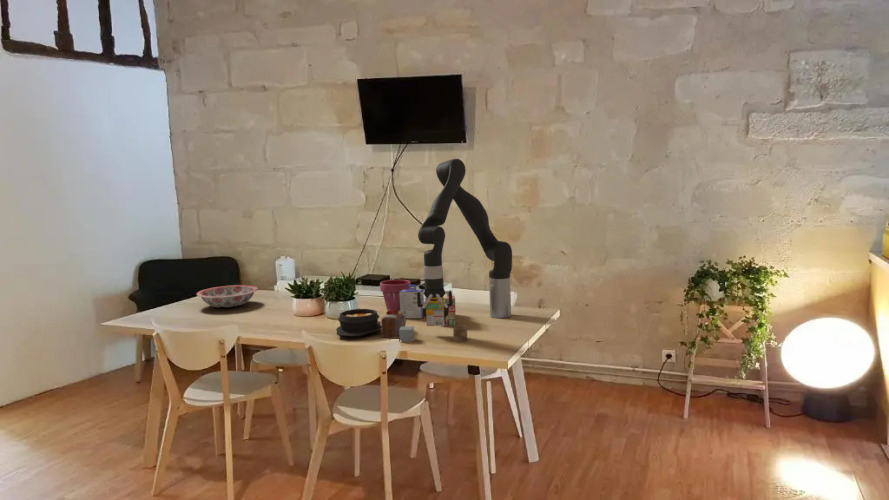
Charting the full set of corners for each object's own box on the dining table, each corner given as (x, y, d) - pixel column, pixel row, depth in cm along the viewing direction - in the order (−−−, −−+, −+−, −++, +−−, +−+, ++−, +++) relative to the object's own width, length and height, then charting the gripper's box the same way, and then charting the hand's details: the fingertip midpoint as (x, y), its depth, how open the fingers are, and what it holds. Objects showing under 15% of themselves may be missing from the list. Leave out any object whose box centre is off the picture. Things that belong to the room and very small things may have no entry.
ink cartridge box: (424, 316, 308) (423, 284, 306) (422, 318, 303) (420, 286, 301) (403, 315, 310) (402, 284, 308) (400, 318, 305) (398, 286, 303)
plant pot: (414, 305, 331) (413, 279, 329) (407, 312, 317) (406, 284, 315) (385, 305, 333) (384, 279, 331) (377, 311, 319) (376, 284, 318)
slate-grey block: (414, 338, 271) (413, 326, 270) (412, 342, 266) (412, 329, 265) (401, 338, 271) (400, 326, 271) (399, 342, 266) (399, 329, 266)
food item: (388, 329, 287) (387, 306, 286) (407, 329, 286) (406, 306, 285) (380, 337, 274) (378, 313, 273) (399, 338, 273) (398, 313, 271)
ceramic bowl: (234, 298, 363) (233, 283, 362) (271, 303, 346) (270, 288, 345) (185, 309, 340) (184, 293, 339) (222, 315, 323) (221, 299, 322)
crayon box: (446, 324, 275) (444, 296, 273) (444, 326, 272) (443, 297, 270) (428, 324, 276) (426, 296, 275) (426, 326, 273) (425, 297, 272)
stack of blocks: (438, 315, 309) (437, 288, 308) (452, 314, 310) (451, 287, 308) (441, 326, 288) (440, 298, 286) (456, 326, 288) (455, 297, 287)
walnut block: (467, 338, 269) (466, 325, 268) (466, 341, 264) (466, 328, 264) (454, 338, 270) (454, 325, 269) (453, 341, 265) (453, 329, 264)
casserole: (369, 341, 269) (368, 320, 268) (325, 339, 274) (324, 319, 273) (390, 325, 293) (389, 306, 292) (349, 324, 298) (348, 305, 296)
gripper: (452, 274, 274) (454, 314, 277) (416, 275, 276) (418, 315, 278) (451, 277, 267) (453, 318, 269) (414, 278, 268) (416, 319, 271)
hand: (435, 316), depth 274 cm, fingers closed on crayon box, 7 cm apart
